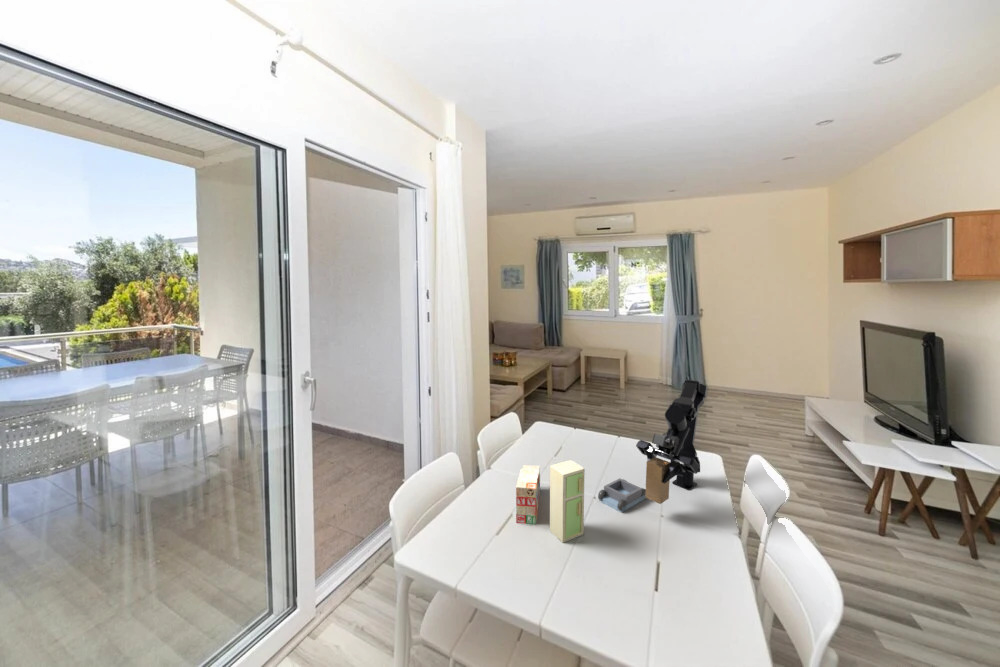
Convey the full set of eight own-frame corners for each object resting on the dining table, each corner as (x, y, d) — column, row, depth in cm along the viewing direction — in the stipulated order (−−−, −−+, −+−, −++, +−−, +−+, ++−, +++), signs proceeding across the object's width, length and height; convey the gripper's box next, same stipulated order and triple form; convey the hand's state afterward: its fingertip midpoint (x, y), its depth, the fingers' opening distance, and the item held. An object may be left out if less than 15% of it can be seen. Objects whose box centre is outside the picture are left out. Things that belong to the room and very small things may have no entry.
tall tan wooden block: (654, 492, 126) (655, 457, 124) (668, 498, 122) (670, 462, 120) (645, 497, 123) (646, 461, 121) (660, 504, 119) (661, 467, 117)
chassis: (624, 487, 142) (624, 475, 142) (646, 497, 135) (647, 485, 134) (598, 501, 133) (598, 489, 132) (620, 513, 126) (620, 500, 125)
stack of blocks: (523, 488, 142) (523, 456, 141) (540, 490, 141) (540, 457, 140) (516, 523, 121) (515, 486, 120) (536, 525, 120) (536, 488, 119)
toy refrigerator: (563, 544, 111) (564, 475, 108) (549, 530, 117) (549, 464, 115) (585, 536, 114) (586, 469, 112) (570, 523, 121) (570, 459, 118)
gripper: (640, 416, 129) (619, 457, 124) (696, 432, 114) (675, 479, 109) (652, 433, 135) (632, 472, 130) (707, 451, 120) (688, 496, 115)
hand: (655, 479), depth 121 cm, fingers closed on tall tan wooden block, 5 cm apart
